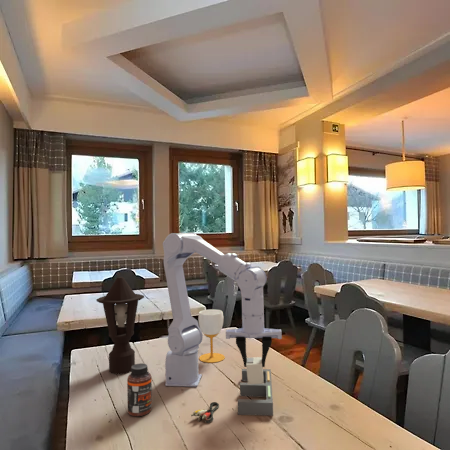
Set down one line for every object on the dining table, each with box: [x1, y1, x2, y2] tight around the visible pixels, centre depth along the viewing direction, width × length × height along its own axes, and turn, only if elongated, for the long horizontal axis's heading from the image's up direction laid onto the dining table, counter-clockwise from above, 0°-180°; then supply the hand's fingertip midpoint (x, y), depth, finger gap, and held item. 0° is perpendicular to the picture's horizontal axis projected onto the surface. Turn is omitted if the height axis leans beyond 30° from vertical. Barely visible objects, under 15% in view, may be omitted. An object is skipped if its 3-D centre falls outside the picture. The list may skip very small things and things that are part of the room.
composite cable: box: [190, 401, 220, 424], centre depth 88 cm, size 10×5×2 cm, turn 148°
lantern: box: [95, 276, 145, 375], centre depth 117 cm, size 15×15×30 cm
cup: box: [197, 308, 226, 364], centre depth 125 cm, size 9×9×16 cm
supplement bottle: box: [126, 362, 153, 417], centre depth 90 cm, size 6×6×11 cm
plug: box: [245, 356, 265, 384], centre depth 94 cm, size 4×5×5 cm
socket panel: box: [237, 368, 274, 416], centre depth 97 cm, size 8×20×3 cm, turn 174°
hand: (254, 365), depth 94 cm, fingers closed on plug, 4 cm apart
